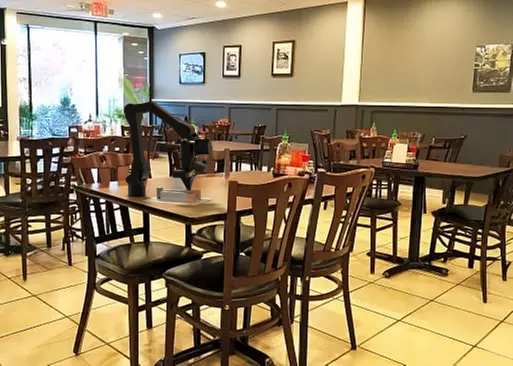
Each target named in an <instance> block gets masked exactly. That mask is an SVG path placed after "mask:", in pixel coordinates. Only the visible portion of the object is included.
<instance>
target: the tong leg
mask: <svg viewBox="0 0 513 366" xmlns="http://www.w3.org/2000/svg"><path fill="white" fill-rule="evenodd" d="M160 191H171V192H185V193H196V199H201V197H202V189H198V188H193V189H191V190H187V189H185V190H173V189H170V188H169V189H165V188H164V187H160V186H159V187H156V197H157V199H160Z"/></svg>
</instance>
